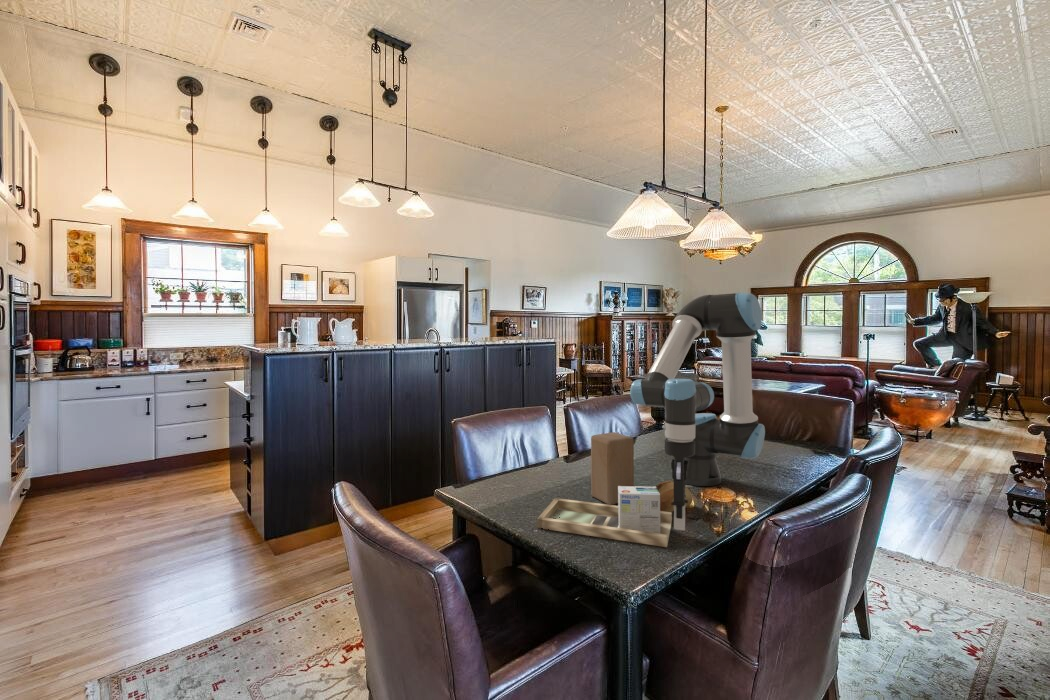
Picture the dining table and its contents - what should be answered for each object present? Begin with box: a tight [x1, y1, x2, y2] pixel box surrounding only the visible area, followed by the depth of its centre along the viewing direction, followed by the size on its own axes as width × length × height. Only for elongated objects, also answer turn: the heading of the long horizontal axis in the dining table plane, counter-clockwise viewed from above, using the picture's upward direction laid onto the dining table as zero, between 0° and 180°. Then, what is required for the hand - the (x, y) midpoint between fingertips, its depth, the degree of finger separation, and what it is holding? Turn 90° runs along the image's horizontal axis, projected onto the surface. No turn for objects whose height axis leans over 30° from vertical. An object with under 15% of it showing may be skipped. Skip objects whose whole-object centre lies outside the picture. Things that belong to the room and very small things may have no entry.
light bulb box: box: [617, 485, 660, 534], centre depth 127 cm, size 11×7×11 cm, turn 84°
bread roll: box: [655, 480, 693, 513], centre depth 141 cm, size 10×15×8 cm, turn 130°
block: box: [590, 431, 635, 505], centre depth 150 cm, size 10×10×20 cm
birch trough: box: [536, 497, 673, 548], centre depth 131 cm, size 34×17×3 cm, turn 69°
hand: (679, 528), depth 124 cm, fingers closed
